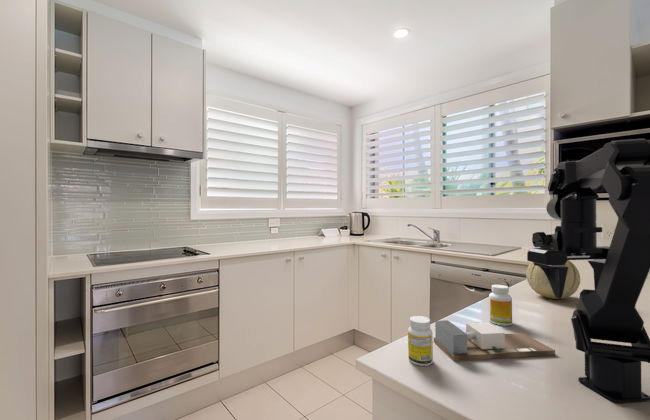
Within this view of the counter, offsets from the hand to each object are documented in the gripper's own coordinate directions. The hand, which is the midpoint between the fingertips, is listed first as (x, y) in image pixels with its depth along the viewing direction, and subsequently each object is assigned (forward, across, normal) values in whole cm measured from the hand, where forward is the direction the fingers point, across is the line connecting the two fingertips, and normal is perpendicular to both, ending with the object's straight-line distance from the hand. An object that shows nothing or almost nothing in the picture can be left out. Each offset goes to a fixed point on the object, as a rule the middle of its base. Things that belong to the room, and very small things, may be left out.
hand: (578, 297), depth 64 cm
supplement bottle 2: (+12, +4, -19) cm, 23 cm away
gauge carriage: (+11, +19, -4) cm, 22 cm away
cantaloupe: (+12, -28, -38) cm, 49 cm away
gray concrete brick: (+11, +25, -5) cm, 28 cm away
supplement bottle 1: (+12, +34, -1) cm, 36 cm away
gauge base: (+12, +16, -5) cm, 21 cm away
